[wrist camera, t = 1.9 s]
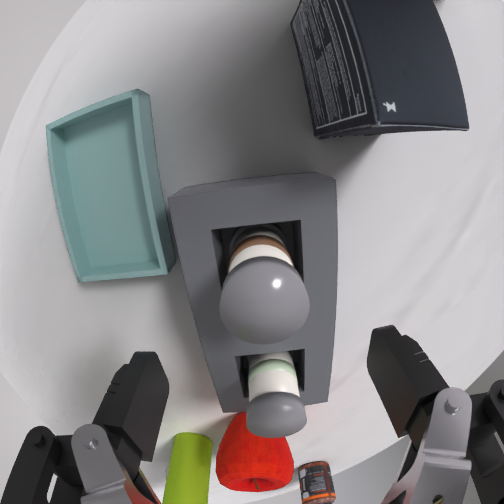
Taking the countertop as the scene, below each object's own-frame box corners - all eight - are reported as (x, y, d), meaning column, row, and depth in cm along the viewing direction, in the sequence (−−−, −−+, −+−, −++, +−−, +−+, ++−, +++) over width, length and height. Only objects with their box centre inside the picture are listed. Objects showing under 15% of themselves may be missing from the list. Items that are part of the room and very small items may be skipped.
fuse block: (186, 186, 20) (135, 218, 11) (315, 172, 20) (370, 191, 10) (225, 377, 27) (220, 455, 18) (317, 367, 27) (338, 443, 18)
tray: (62, 126, 18) (45, 125, 15) (149, 94, 17) (137, 88, 15) (91, 270, 23) (78, 282, 20) (175, 261, 22) (168, 274, 20)
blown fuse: (226, 221, 20) (211, 274, 12) (283, 215, 20) (308, 264, 12) (234, 272, 22) (227, 347, 13) (287, 266, 21) (309, 339, 13)
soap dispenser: (197, 427, 31) (182, 553, 13) (219, 447, 34) (212, 557, 15) (163, 430, 32) (140, 544, 13) (186, 450, 34) (173, 552, 16)
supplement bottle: (292, 467, 37) (297, 517, 27) (321, 457, 36) (330, 508, 26) (305, 473, 39) (312, 518, 28) (333, 464, 38) (342, 510, 27)
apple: (234, 438, 32) (232, 500, 22) (207, 407, 29) (199, 481, 19) (294, 426, 31) (303, 492, 21) (276, 393, 28) (285, 473, 18)
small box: (387, 135, 19) (476, 135, 9) (313, 140, 19) (373, 132, 9) (361, 23, 15) (422, -31, 5) (287, 21, 15) (314, -55, 5)
